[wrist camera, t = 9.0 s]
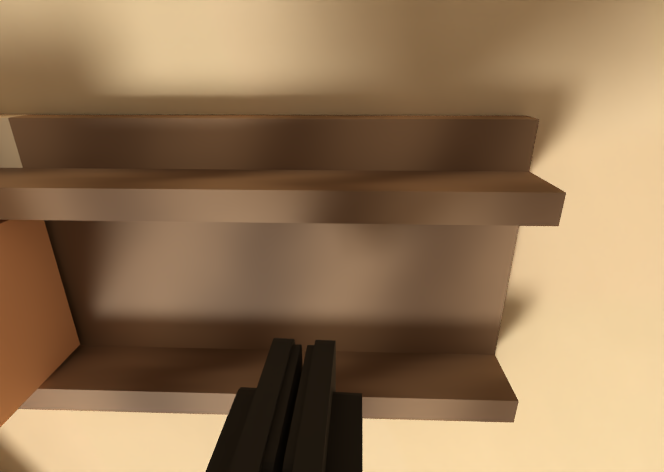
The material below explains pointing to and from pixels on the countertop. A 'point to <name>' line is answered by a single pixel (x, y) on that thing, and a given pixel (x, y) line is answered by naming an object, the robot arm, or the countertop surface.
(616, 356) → the countertop surface
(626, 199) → the countertop surface
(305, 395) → the robot arm
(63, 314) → the block
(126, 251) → the chute
